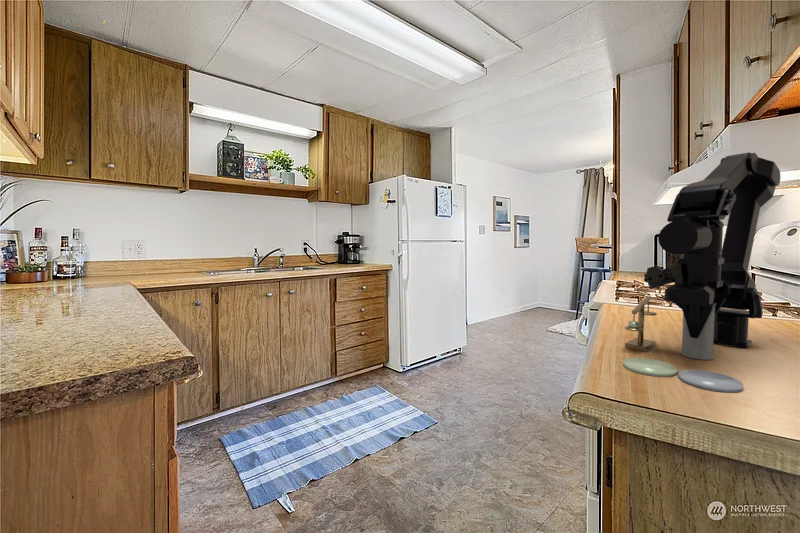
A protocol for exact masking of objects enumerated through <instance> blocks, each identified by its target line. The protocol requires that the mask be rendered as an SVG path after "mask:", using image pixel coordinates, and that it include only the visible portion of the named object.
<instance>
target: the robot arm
mask: <svg viewBox="0 0 800 533" xmlns="http://www.w3.org/2000/svg"><path fill="white" fill-rule="evenodd" d="M780 181H781V171H780V169H779V167H778V165H777V164H776V162H775V161H773V160H770V159H769V160H768V159H766V158H762V157H759V156H758V155H757V154H756V152H743V153H737V154H730V155H726V156H725V157H722V158H721V160H720V162H719V164H718V165H717V166H716V167H714V169H713V170H712V171H711V172H710V173H709V174H708V175H707V176H706V177H705V178H704V179H702V180H698V181H696V182H691V183H689V184H687V185H685V186H683V187H681V189H680V190H679V191H678V193H677V194H676V196H675V199H674V201H673V204H672V206H671V209H670V210H669V213H668V215H667V222H668V223H667V224H665V225H664V226H663V227H662V229H661V230H660V232H659V234H658V238H657V241H658V243H659V246H660V247H661V249H662V250H664V251H665V252H666V253H669V254H672V255H681V257H678V258H677V259H676V261H675V266H670V267H667V268H662V267H661V266H660V265H655V266H651V267H647V270H646V273H644V274H643V276H644V278H643V281H644V282H645V283H647V286H648V287H649V289H650V290H652V289H656V288H660V287H664V286H665V285H669V284H672V285H670V286H668V287H667V288H666V289H665V290H664V301H666V302H671V303H672V304H674V305H676V306H677V307H678V308H680V309H681V311H682V315H683V314H684V317H685V320H686V324H687V327H688V331H689V334H690V337H692V338H698V337H699V336H700V334H701V332H702V330H703V328H704V326H705V324H706V322H707V321H708V319H709V317H710V315H711V313H712V311H713V309H714V307H715V317H714V339H713V344H719V345H725V346H731V347H738V348H743V349H748V348H749V347H750V345H752V344H753V340H751V339H748V337H749V320H750V319H753V320H754V319H762V318H763V305H762V299H761V295H759V292H758V289H757V288H756V287H757V283H756V282H755V281H754V278H752V276H751V274H750V273H749V264H750V260H751V256H752V250H753V246H754V240H755V235H756V231H757V230H756V229H757V227H758V221H759V215H760V210H761V208H762V207H763V206H764V205H766V203H767V202H769V201H770V200H771V199H772V198H773V197H774V195H775V191H776V187H778V186H780V183H781V182H780ZM726 216H728V219H727V223H726V229H725V234H723V233H724V230H723V229H724V227H725V225H724V221H723V220H725V218H726ZM723 236H724V238H723Z"/></svg>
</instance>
